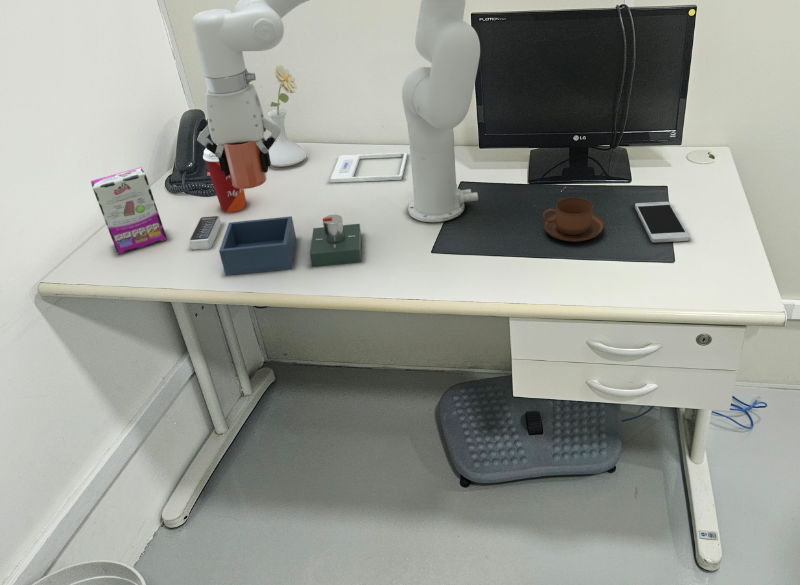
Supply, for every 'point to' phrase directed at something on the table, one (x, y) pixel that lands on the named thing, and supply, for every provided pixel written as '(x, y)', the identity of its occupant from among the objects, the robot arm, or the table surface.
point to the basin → (258, 246)
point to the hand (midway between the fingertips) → (247, 171)
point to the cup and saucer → (573, 220)
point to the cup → (244, 165)
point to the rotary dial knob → (333, 228)
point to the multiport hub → (205, 233)
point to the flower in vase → (284, 148)
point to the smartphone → (661, 222)
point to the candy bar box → (129, 210)
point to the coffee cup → (224, 185)
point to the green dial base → (336, 247)
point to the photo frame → (349, 164)
